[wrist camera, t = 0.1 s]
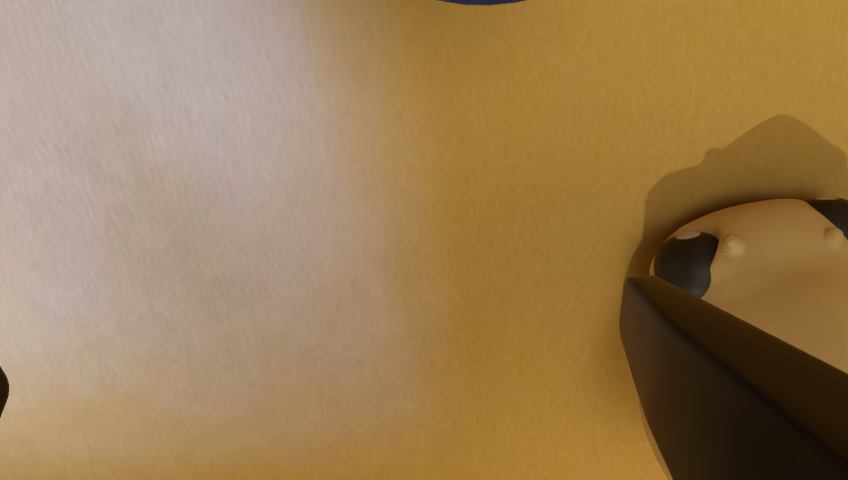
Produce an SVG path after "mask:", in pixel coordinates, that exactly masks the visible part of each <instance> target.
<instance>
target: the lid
mask: <svg viewBox="0 0 848 480" xmlns="http://www.w3.org/2000/svg"><path fill="white" fill-rule="evenodd" d="M438 1H444V2H451V3H457V4H463V5H497V4H507V3H516V2H520V1H525V0H438Z"/></svg>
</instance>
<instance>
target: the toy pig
mask: <svg viewBox="0 0 848 480" xmlns="http://www.w3.org/2000/svg"><path fill="white" fill-rule="evenodd" d="M649 275H654V276H657V277H659V278H661V279H663V280H665V281H667V282H669V283H671V284H673V285H675V286H677V287H679V288H681V289H683V290H685V291H687V292H689V293H691V294H693V295H695V296H697V297H699V298H701V299H702V300H704V301H706V302H708V303H710V304H712V305H714V306H716V307H718V308H720V309H722V310H724V311H726V312H728V313H730V314H732V315H734V316H736V317H738V318H740V319H742V320H744V321H746V322H748V323H750V324H751V325H753V326H755V327H757V328H759V329H761V330H763V331H765V332H767V333H769V334H771V335H773V336H775V337H777V338H779V339H781V340H783V341H785V342H787V343H789V344H791V345H793V346H795V347H797V348H799V349H800V350H802V351H804V352H806V353H808V354H810V355H812V356H814V357H816V358H818V359H820V360H822V361H824V362H826V363H828V364H830V365H832V366H834V367H836V368H838V369H840V370H842V371H844V372H846V373H848V200H845V199H842V198H838V197H820V198H815V199H812V200H809V201H803V200H798V199H771V200H763V201H757V202H752V203H746V204H741V205H737V206H732V207H729V208H725V209H722V210H719V211H716V212H713V213H710V214H707V215H705V216H702V217H700V218H698V219H696V220H693V221H691V222H689V223H687V224H686V225H684V226H682V227H681V228H679V229H678V230H676V231H675V232H674V233H673V234H672V235H671V236H670V237H669V238H668V239H667V240H666V241H665V242H664V243H663V245H662V246H661V247H660V248H659V250H658V252H657V253H656V255H655V257H654V258H653V260H652V263H651V265H650V270H649ZM639 401H640V398H639ZM640 409H641V414H642V419H643V423H644V427H645V431H646V434H647V437H648V440H649V443H650V445H651V448H652V450H653V452H654V455H655V457H656V459H657V461H658V463H659V464H660V466H661V468H662V470H663V471H664V473H665V475H666V476H667V478H668V479H669V480H673V479H672V476H671V474H670V472H669V470H668V468H667V466H666V463H665V461H664V459H663V457H662V455H661V452H660V450H659V448H658V446H657V444H656V442H655V439H654V437H653V435H652V433H651V430H650V428H649V425H648V423H647V420H646V417H645V414H644V411H643V408H642V405H641V402H640Z"/></svg>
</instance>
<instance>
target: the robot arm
mask: <svg viewBox="0 0 848 480" xmlns="http://www.w3.org/2000/svg"><path fill="white" fill-rule="evenodd" d="M620 334H621V339H622V343H623V346H624V349H625V353H626V356H627V359H628V362H629V366H630V369H631V372H632V375H633V379H634V382H635V385H636V388H637V392H638V395H639V398H640V402H641V405H642V408H643V411H644V414H645V417H646V420H647V423H648V425H649V428H650V430H651V433H652V435H653V437H654V439H655V442H656V444H657V446H658V448H659V450H660V452H661V455H662V457H663V459H664V461H665V463H666V466H667V468H668V470H669V472H670V474H671V476H672V479H673V480H848V373H846V372H844V371H842V370H840V369H838V368H836V367H834V366H832V365H830V364H828V363H826V362H824V361H822V360H820V359H818V358H816V357H814V356H812V355H810V354H808V353H806V352H804V351H802V350H800V349H799V348H797V347H795V346H793V345H791V344H789V343H787V342H785V341H783V340H781V339H779V338H777V337H775V336H773V335H771V334H769V333H767V332H765V331H763V330H761V329H759V328H757V327H755V326H753V325H751V324H750V323H748V322H746V321H744V320H742V319H740V318H738V317H736V316H734V315H732V314H730V313H728V312H726V311H724V310H722V309H720V308H718V307H716V306H714V305H712V304H710V303H708V302H706V301H704V300H702V299H701V298H699V297H697V296H695V295H693V294H691V293H689V292H687V291H685V290H683V289H681V288H679V287H677V286H675V285H673V284H671V283H669V282H667V281H665V280H663V279H661V278H659V277H657V276H654V275H648V276H638V277H630V278H628V279H627V280H626V281H625V283H624V287H623V295H622V304H621V313H620ZM8 395H9V383H8V379H7V377H6V375H5V373H4V372H3V370H2V368H1V367H0V417H1V414H2V412H3V409H4V407H5V404H6V401H7V399H8Z"/></svg>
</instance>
